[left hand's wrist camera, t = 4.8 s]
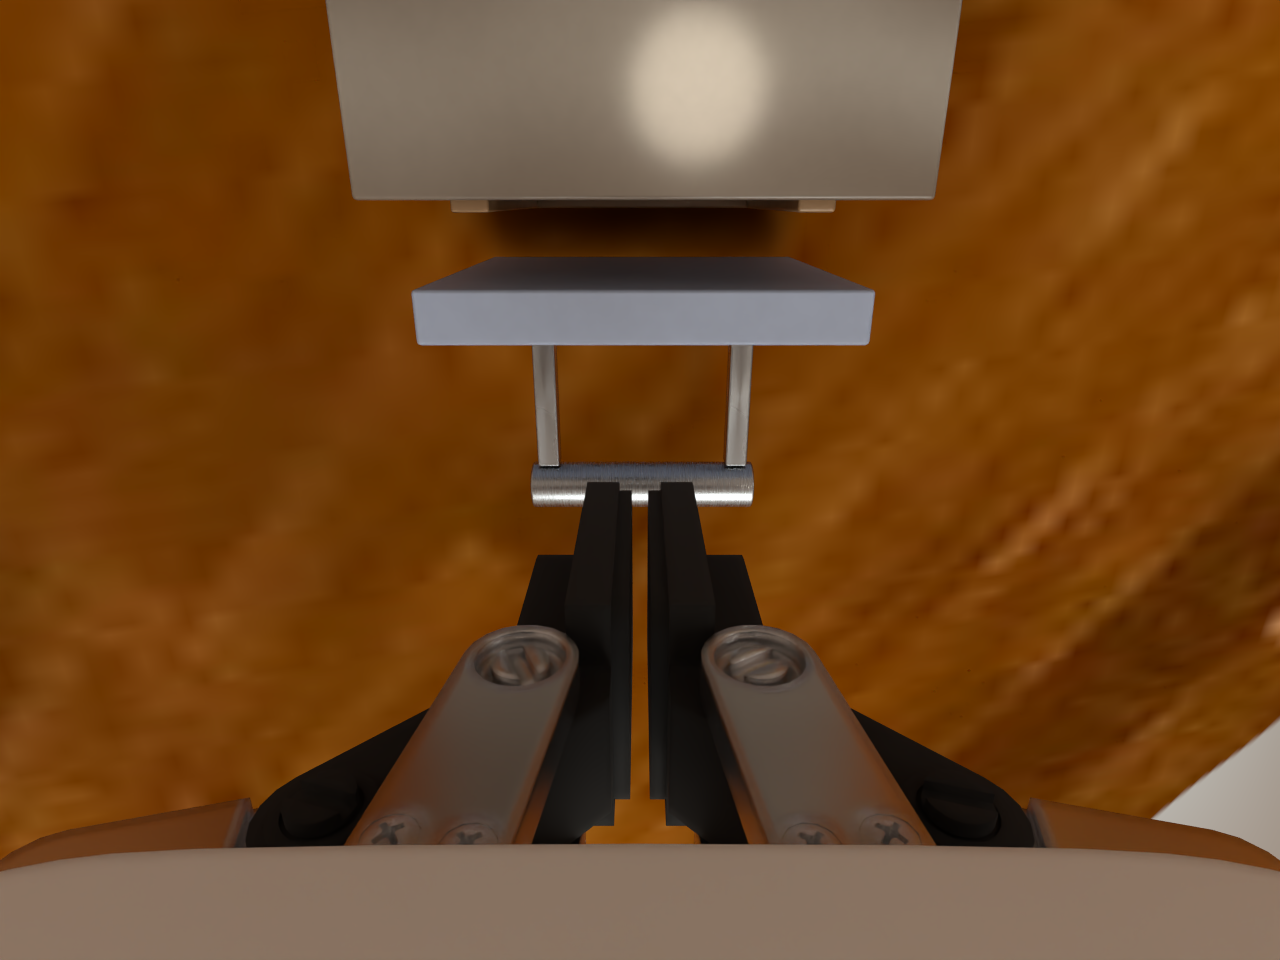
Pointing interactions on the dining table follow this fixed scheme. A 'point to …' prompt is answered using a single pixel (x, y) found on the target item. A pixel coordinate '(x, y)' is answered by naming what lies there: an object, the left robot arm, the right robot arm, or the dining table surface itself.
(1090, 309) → the dining table surface
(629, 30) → the cabinet
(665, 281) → the drawer
